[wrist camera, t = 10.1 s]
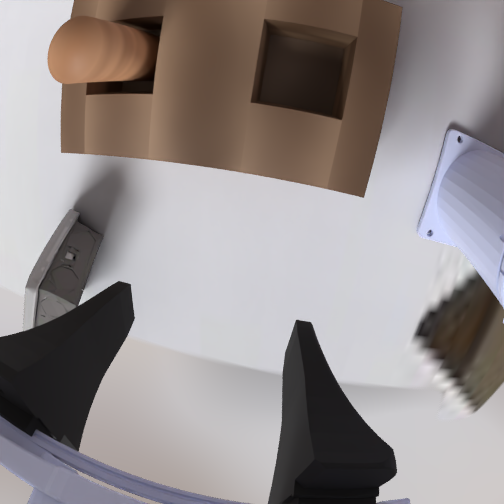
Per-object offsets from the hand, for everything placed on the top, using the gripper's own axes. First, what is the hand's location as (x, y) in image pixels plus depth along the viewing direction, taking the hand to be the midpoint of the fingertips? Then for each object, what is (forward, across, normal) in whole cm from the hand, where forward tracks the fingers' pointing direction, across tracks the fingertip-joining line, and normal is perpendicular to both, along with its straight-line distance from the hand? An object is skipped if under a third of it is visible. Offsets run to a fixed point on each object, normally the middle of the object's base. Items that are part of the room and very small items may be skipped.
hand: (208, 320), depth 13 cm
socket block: (+10, +2, -10) cm, 14 cm away
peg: (+9, +7, -11) cm, 16 cm away
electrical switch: (+10, +14, +6) cm, 18 cm away
